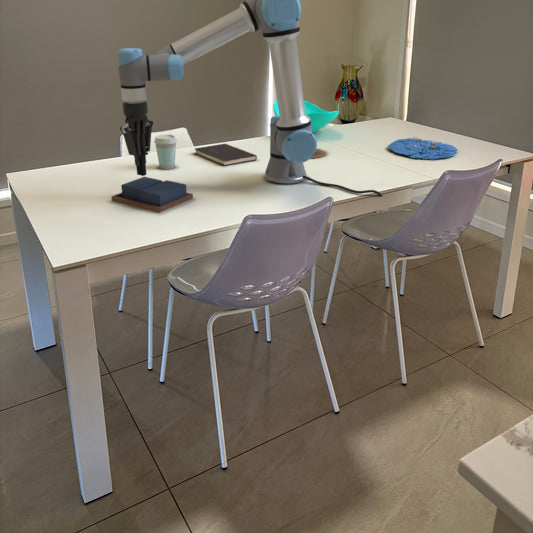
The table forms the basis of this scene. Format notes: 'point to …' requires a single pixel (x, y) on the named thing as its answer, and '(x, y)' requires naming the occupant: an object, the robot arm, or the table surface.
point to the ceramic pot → (318, 153)
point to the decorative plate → (422, 148)
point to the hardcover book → (225, 154)
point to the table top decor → (314, 115)
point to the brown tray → (150, 207)
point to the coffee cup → (166, 150)
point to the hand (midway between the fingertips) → (141, 174)
